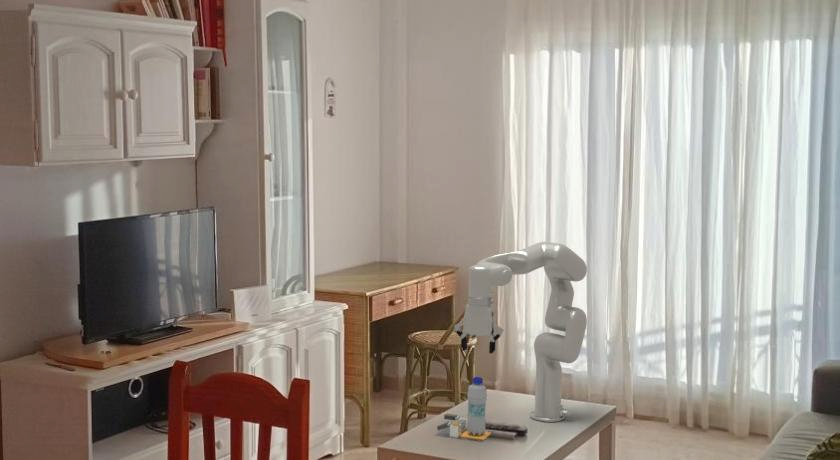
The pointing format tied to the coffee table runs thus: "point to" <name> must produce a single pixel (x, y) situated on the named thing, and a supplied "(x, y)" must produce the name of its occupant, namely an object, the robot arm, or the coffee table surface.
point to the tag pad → (481, 437)
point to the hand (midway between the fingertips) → (478, 351)
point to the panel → (447, 434)
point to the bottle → (476, 407)
